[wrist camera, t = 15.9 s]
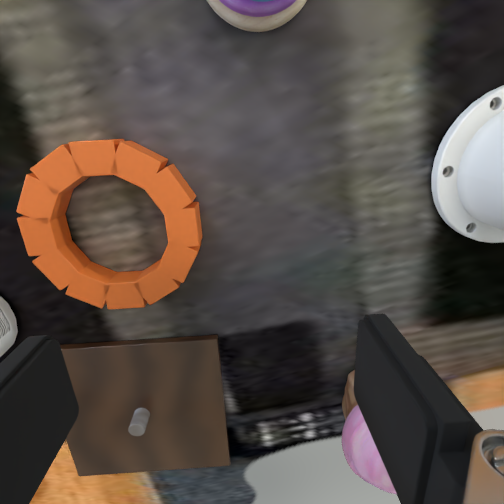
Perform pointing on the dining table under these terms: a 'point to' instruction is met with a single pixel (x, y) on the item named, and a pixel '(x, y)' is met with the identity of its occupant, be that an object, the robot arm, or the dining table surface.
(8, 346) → the supplement can
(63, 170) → the ring
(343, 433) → the cupcake
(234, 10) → the stacking toy
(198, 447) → the board
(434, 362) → the dining table surface
